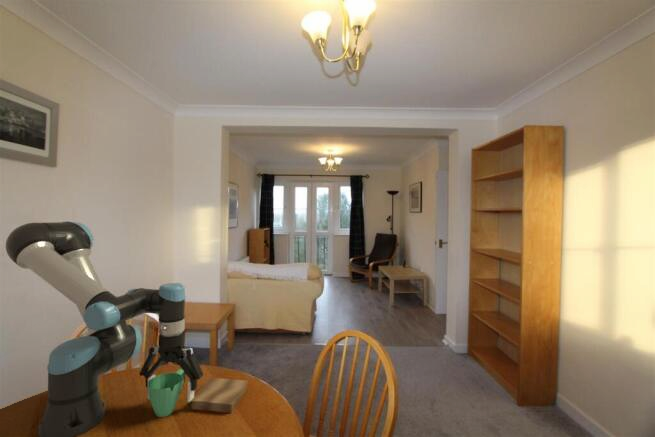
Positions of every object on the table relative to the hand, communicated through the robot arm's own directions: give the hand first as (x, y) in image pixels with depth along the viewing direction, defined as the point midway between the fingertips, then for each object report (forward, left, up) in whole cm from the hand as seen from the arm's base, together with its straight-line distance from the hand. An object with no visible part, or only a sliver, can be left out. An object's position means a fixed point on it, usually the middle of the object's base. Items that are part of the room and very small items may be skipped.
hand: (171, 398), depth 100 cm
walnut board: (+13, +7, -3) cm, 15 cm away
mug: (-1, 0, -3) cm, 3 cm away
